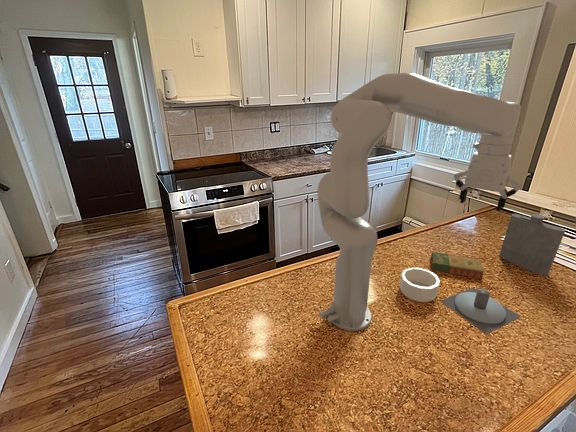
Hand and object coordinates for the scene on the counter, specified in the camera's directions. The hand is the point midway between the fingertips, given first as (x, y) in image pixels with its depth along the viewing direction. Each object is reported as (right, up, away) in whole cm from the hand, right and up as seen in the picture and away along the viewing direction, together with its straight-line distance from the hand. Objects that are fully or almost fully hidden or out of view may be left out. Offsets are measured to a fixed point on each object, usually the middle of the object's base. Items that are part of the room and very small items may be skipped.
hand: (480, 205), depth 91 cm
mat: (-1, -31, -1) cm, 31 cm away
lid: (-1, -31, -1) cm, 31 cm away
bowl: (-16, -28, +7) cm, 33 cm away
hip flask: (+28, -21, +20) cm, 40 cm away
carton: (+2, -23, +19) cm, 30 cm away
